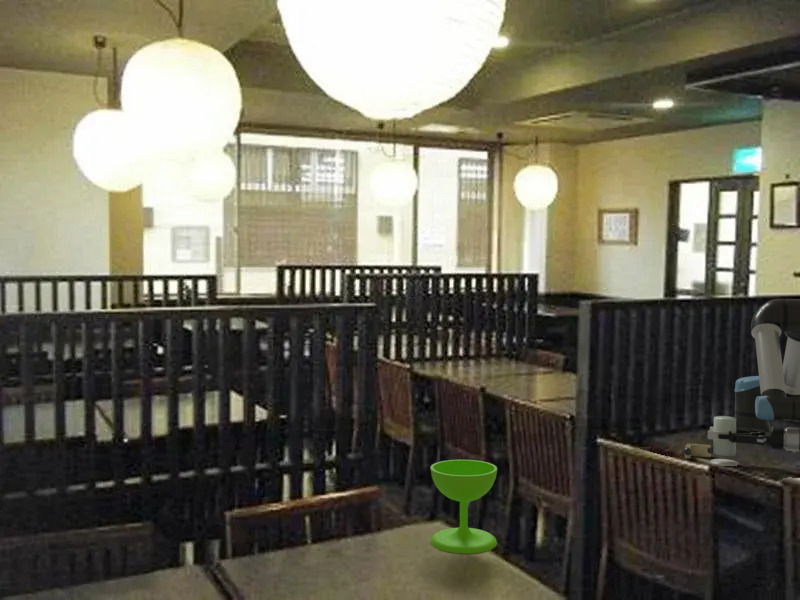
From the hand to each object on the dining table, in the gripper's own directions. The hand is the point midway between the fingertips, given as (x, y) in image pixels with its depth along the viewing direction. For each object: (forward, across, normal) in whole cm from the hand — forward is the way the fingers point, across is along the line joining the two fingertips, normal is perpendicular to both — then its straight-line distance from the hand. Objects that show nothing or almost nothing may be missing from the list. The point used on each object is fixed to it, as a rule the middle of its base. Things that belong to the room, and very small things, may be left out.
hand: (709, 432), depth 265 cm
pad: (-5, 0, -10) cm, 11 cm away
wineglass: (+46, -109, -11) cm, 119 cm away
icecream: (+16, -10, -10) cm, 22 cm away
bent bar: (+4, +5, -10) cm, 12 cm away
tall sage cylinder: (-5, 0, -7) cm, 8 cm away
